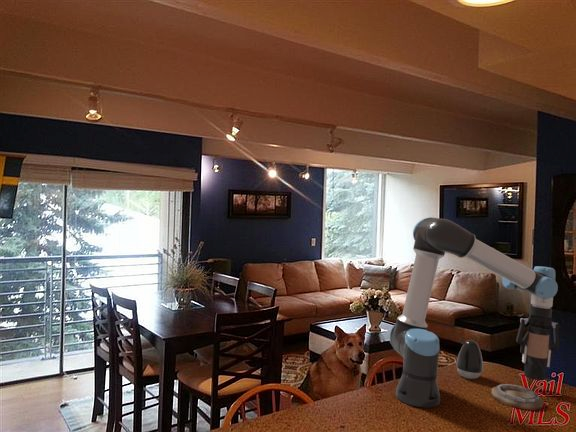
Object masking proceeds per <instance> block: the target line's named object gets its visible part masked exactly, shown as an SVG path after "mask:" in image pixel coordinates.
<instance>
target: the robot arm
mask: <svg viewBox="0 0 576 432" xmlns="http://www.w3.org/2000/svg"><path fill="white" fill-rule="evenodd" d="M412 237H413V239H414V243H413V248H412V249H413V251H414V253H415V259H414V263H413V266H412V270H411V274H410V280H409V284H408V287H407V288H408V289H407V293H406V296H405V301H404V304H403V305H404V306H403V309H402V314H401V315H399V316H397V318H396V322H395V324H393V325H392V327H391V328H390V330H389V334H388V335H389V336H388V338H389V339H388V340H389V343H390V344H391V346H392V348H393V350H394V351H395V352H396V353H397V354H399V355H400V356H401V357H402V358H403V362H402V364H403V365H402V373H401V377H400V379H399V381H398V384H397V386H396V389H395V396H396V398H397V399H398V400H399V401H401V402H403V403H404V404H407V405H410V406H413V407H417V408H427V409H429V408H435V407H438V406H439V405H441V404H440V403H441V393H440V390H439V389H440V388H439V385H438V380H437V377H438V367H439V365H438V364H439V354H440V350H441V349H440V347H441V346H440V338H439V337H438V336H437V335H436V334H435V333H434V332H432V331H428V326H429V325H428V323H427V321H426V317H427V311H428V309H429V308H428V307H429V303H430V299H431V295H432V290H433V287H434V282H435V278H436V274H437V270H438V265H439V261H440V259H442V258H444V257H445V254H446V253H448V254H451V255H454V256H455V257H457V258H460V259H464V258H466V259H467V260H469V261H471V262H474V263H475V264H477V265H479V266H481V267H482V268H484V269H486V270H488V271H490V272H491V273H494V274H495V275H497V276H499V277H500V278H501V282H502V286H503V287H504V288H505V289H507V290H516V291H517V290H518V291H521V292H524V293H527V294H531V295H530V304H531V305H530V306H529V316H527V318H523V317H520V318H519V321H520V323H519V327H518V331H517V334H516V337H515V338H516V339H515V341H516V343H517V344H519V345H520V347H519V348H520V351H519V352H520V354H521V355H522V357H521V359H522V360H521V362H522V363H523V364H525V363H526V354H527V346H526V343H527V341H528V340H529V332H528V330H527V332H526V333H525V334H524V330H525V327H526V325H527V324H528V323H529V325H530V326H532V327H535V328H542V329H548V327H549V328H550V327H552V328H553V329H552V330H553V340H552V338H551V335H549V346H548V357H547V365H546V368H550V364H551V359H553V358H554V352H555V350H560V334H559V330H560V324H559V323H558V322H554V321H552V316H553V315H552V312H553V308H552V307H553V305H554V303H553V301H554V297H555V296H556V294H557V292H558V290H559V289H558V288H559V287H558V285H559V284H558V282H557V281H556V270H555V269H554V268H553V267H548V266H541V265H540V266H538V265H537V266H534V268H533V269H531V268H530V267H528V266H526V265H525V264H522V263H521V262H519V261H517V260H516V259H513V258H511V257H510V256H508V255H506V254H504V253H503V252H501V251H499V250H497V249H496V248H494V247H491V246H489V245H488V244H486V243H484V242H482V241H481V240H479V239H477V238H476V235H475V233H472V232H470V231H469V230H467V229H466V228H464V227H463V226H461V225H459V224H457V223H456V222H454V221H452V220H450V219H447V218H438V217H426V218H422V219H421V220H419V221H418V222H416V224H415V225H414V227H413V230H412ZM523 334H524V336H523ZM553 343H554V344H553Z"/></svg>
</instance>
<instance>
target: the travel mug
mask: <svg viewBox="0 0 576 432" xmlns="http://www.w3.org/2000/svg"><path fill="white" fill-rule="evenodd" d="M527 331H528V332H529V340H528V341H527V343H526V346H527V354H526V363H524V371H523V376H525V378H528V379H529V380H530V379H532V380H535V381H544V380H545V379H546V371H547V366H546V365H547V357H548V348H549V335H550V332H551V328H550V326H549V327H548V329H542V328H535V327H532V326H530V324H528V327H527ZM550 336H551V335H550Z"/></svg>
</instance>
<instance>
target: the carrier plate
mask: <svg viewBox="0 0 576 432" xmlns="http://www.w3.org/2000/svg"><path fill="white" fill-rule="evenodd" d="M490 394H492V395H491V397H492V396H493V397H494V398H495V399H494V398H493V397H492V398H493V399H494V400H495V401H497V400H498V401H497V402H499V401H500V402H499V403H501V402H502V403H501V404H503V403H504V405H505V404H506V406H508V405H509V407H511V406H513V407H512V408H515V409H519V410H526V411H538V410H541V409H543V407H544V400H543V398H541V397H540V395H538V393H537V392H535V391H534V390H532V389H530V388H527V387H524V386H521V385H517V384H510V383H504V384H503V383H501V384H498V385H496V386H494V387H492V388H491V393H490Z"/></svg>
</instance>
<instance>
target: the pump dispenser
mask: <svg viewBox="0 0 576 432" xmlns="http://www.w3.org/2000/svg"><path fill="white" fill-rule="evenodd" d="M458 341H459V342H460V343H461V344H462V346H461V348H460V351H459V352H458V354H457V355H458V356H457V360H456V363H455V364H456V368H457V372H458V374H459V375H460V376H462V378H465V379H468V380H475V379H478V378H479V377H480V376H481V375H482V373H483V371H484V363H483V356H482V352H481V349H480V346H479V344H478V343H477V341H475V340H473V339H468V340H463V339H462V338H459V340H458Z"/></svg>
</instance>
